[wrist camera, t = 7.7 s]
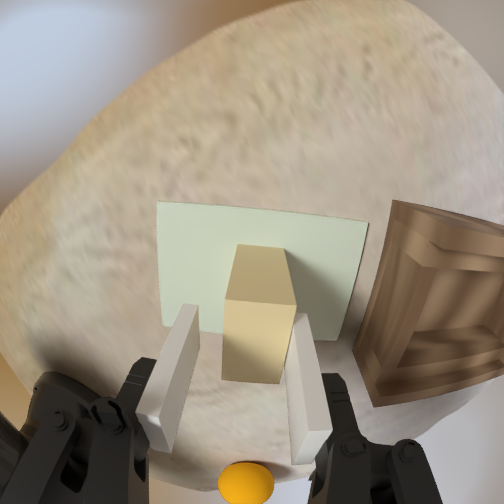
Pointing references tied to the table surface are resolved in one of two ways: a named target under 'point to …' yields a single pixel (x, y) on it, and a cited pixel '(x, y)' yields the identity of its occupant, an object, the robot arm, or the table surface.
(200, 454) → the table surface
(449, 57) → the table surface
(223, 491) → the orange
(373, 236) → the table surface
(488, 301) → the case
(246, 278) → the lid
